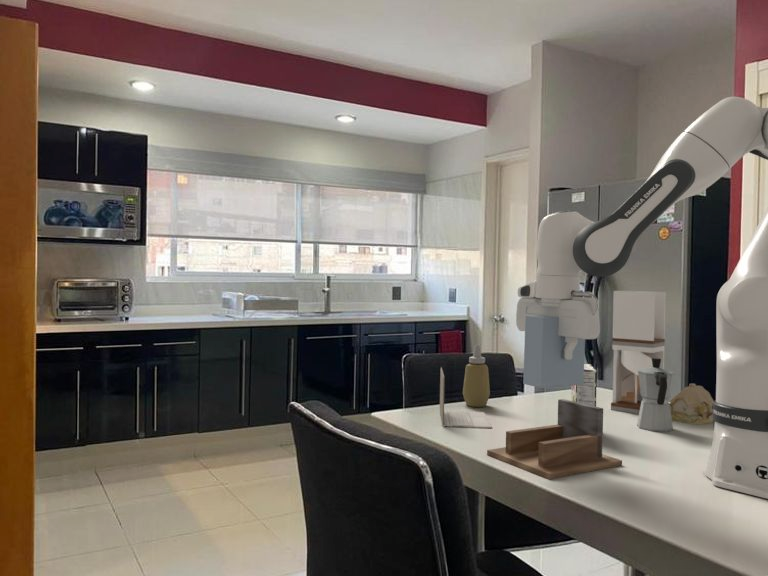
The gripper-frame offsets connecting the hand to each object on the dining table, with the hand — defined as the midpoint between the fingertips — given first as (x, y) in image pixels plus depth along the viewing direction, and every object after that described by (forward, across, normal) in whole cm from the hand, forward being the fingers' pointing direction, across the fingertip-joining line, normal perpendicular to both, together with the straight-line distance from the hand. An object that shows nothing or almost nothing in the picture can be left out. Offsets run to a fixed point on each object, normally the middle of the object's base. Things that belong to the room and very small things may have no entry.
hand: (554, 357), depth 126 cm
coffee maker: (+21, +9, -45) cm, 51 cm away
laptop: (+22, +38, -6) cm, 44 cm away
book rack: (+21, 0, 0) cm, 21 cm away
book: (+6, 0, 0) cm, 6 cm away
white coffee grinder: (+21, +26, -61) cm, 70 cm away
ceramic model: (+21, +12, -66) cm, 70 cm away
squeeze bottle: (+22, +52, -21) cm, 60 cm away
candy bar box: (+22, +14, -24) cm, 35 cm away
